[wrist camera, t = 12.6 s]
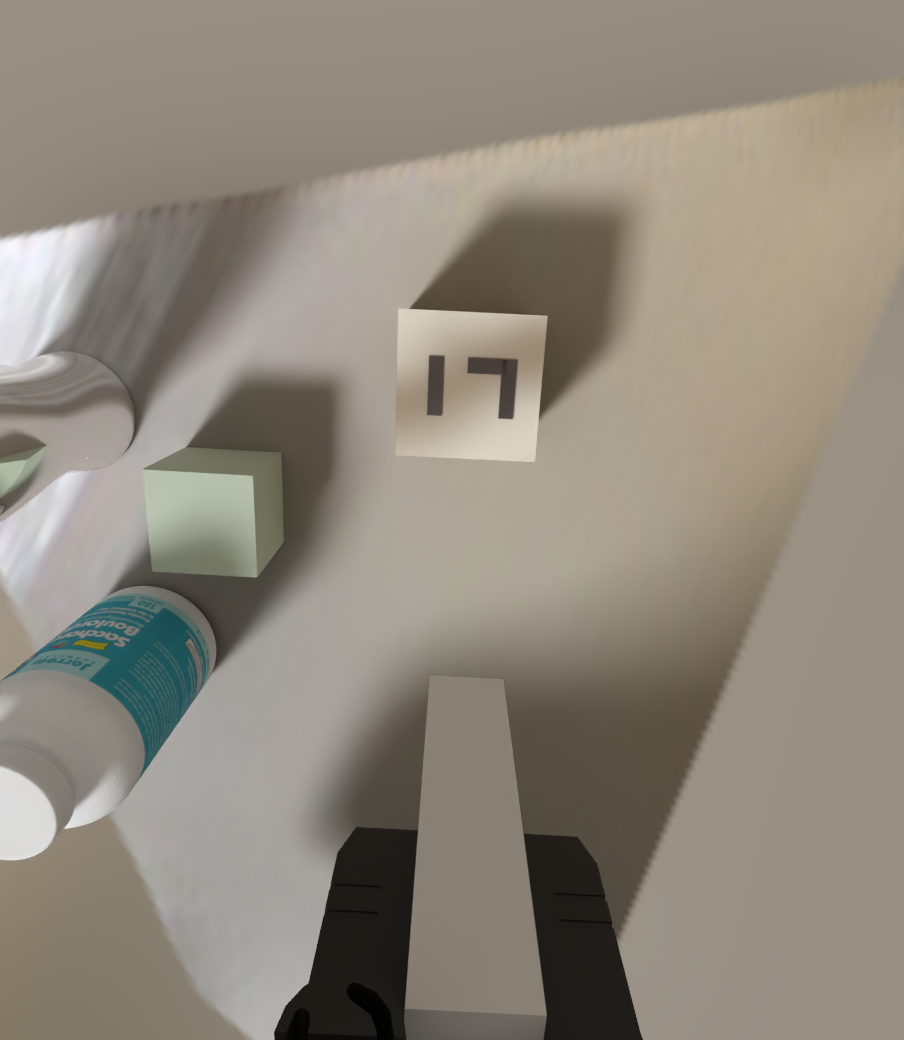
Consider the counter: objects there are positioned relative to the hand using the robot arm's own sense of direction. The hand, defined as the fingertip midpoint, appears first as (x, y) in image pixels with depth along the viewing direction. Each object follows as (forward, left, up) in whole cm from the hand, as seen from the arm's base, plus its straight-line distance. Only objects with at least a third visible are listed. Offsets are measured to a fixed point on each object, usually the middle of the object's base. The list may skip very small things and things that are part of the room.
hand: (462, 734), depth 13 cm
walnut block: (+5, 0, -16) cm, 17 cm away
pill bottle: (-11, +17, -22) cm, 30 cm away
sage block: (-2, +12, -22) cm, 25 cm away
